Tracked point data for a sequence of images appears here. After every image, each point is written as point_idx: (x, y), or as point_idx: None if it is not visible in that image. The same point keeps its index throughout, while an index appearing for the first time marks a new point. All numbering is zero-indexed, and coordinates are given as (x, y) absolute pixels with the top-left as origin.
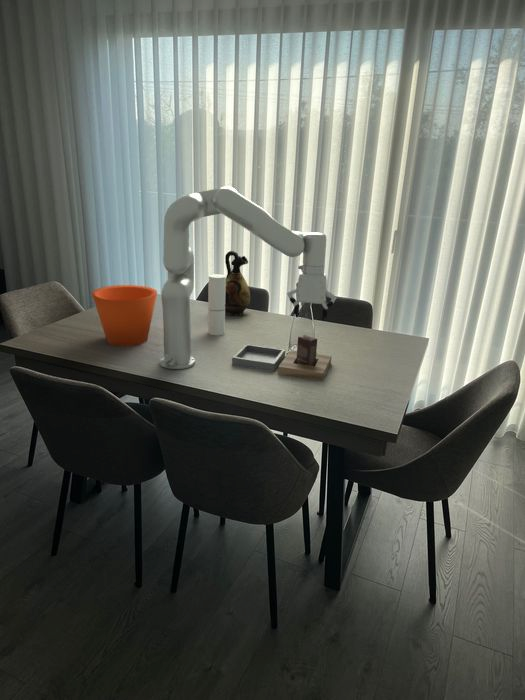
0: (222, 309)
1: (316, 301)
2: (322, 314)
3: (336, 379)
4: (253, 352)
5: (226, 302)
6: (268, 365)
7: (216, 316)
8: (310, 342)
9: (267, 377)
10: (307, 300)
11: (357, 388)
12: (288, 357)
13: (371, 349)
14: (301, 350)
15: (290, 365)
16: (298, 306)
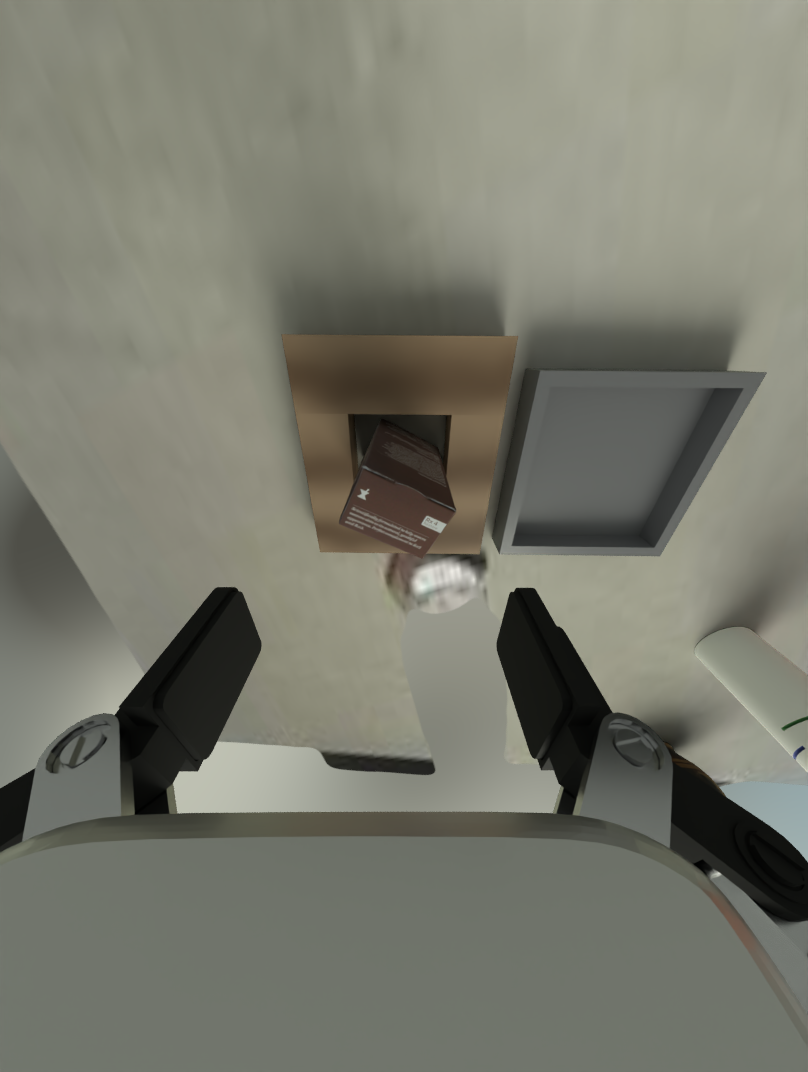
0: (801, 725)
1: (115, 913)
2: (205, 635)
3: (251, 387)
4: (616, 525)
5: (701, 779)
6: (564, 370)
7: (801, 689)
8: (365, 463)
9: (555, 268)
10: (402, 919)
11: (127, 311)
12: (479, 478)
13: (259, 662)
14: (422, 465)
15: (458, 380)
16: (548, 723)
